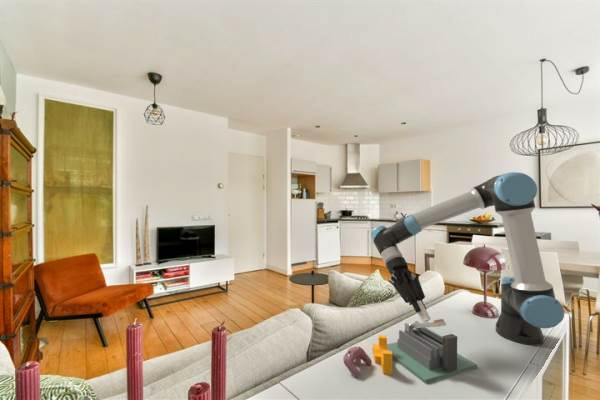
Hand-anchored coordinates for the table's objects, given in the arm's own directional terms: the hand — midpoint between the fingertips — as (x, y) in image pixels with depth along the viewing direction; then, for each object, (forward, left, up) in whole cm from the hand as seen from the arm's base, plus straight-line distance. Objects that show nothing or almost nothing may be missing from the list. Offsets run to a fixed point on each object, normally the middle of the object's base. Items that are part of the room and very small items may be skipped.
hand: (426, 320), depth 94 cm
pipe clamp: (+16, -3, -13) cm, 21 cm away
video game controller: (+25, -4, -13) cm, 29 cm away
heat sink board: (0, 0, -13) cm, 13 cm away
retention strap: (0, 0, -2) cm, 3 cm away
